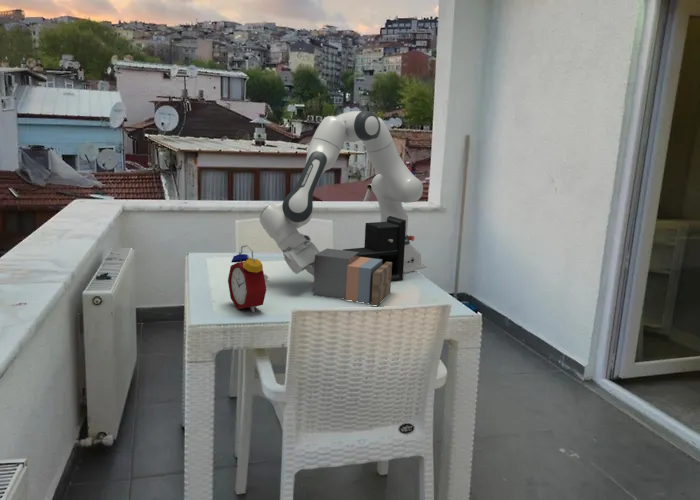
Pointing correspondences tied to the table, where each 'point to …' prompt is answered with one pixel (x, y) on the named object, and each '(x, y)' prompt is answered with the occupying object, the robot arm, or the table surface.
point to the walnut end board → (381, 283)
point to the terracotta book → (354, 278)
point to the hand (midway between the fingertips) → (318, 275)
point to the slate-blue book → (367, 279)
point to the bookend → (385, 244)
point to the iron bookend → (332, 272)
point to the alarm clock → (247, 281)
